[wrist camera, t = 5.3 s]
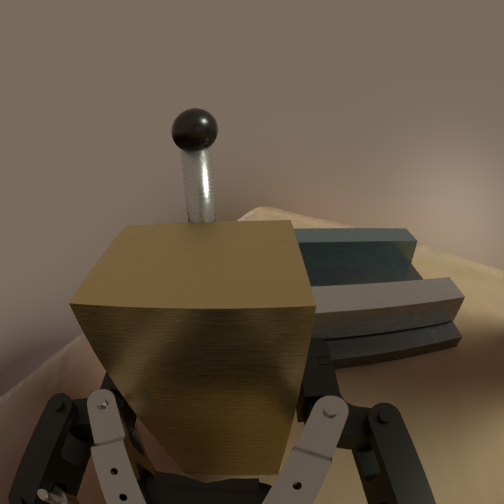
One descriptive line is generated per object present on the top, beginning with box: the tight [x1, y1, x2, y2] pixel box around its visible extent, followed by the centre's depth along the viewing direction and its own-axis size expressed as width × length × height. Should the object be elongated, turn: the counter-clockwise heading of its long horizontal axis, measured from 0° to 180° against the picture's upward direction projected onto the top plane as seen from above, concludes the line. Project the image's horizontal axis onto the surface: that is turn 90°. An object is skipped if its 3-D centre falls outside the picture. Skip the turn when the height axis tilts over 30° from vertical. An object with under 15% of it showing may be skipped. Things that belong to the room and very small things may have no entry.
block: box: [69, 220, 316, 475], centre depth 11 cm, size 4×6×14 cm
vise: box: [294, 228, 462, 369], centre depth 25 cm, size 16×22×4 cm
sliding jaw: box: [172, 108, 465, 339], centre depth 17 cm, size 4×22×16 cm, turn 91°
